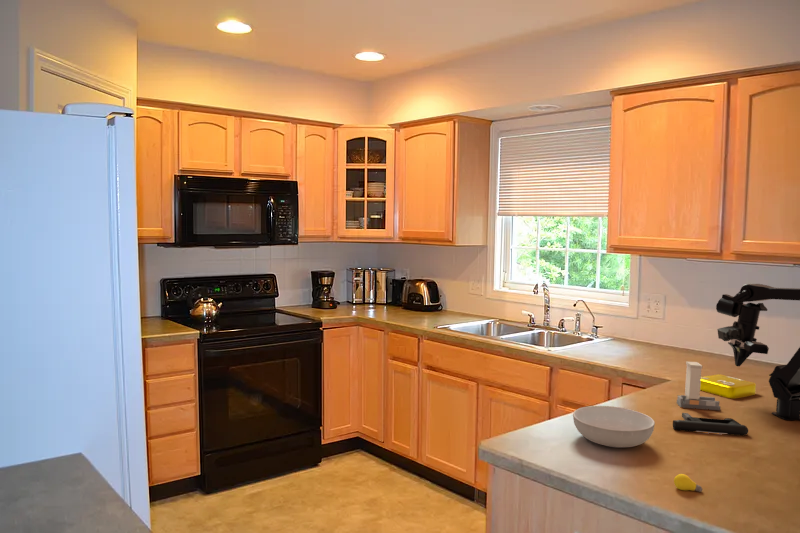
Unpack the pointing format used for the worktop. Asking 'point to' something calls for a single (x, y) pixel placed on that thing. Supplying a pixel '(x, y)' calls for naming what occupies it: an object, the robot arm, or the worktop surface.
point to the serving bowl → (613, 425)
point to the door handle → (710, 425)
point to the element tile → (727, 386)
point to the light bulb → (686, 483)
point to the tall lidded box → (693, 380)
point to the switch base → (698, 403)
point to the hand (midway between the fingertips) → (737, 366)
